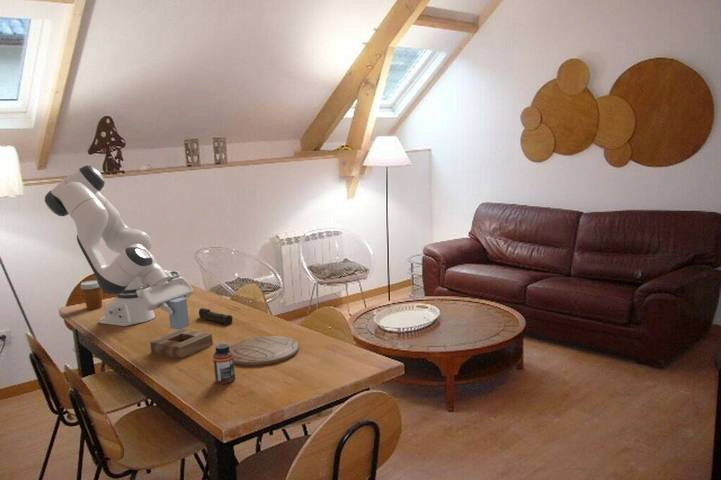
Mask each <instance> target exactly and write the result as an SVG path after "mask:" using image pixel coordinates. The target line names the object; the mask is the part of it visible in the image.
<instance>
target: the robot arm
mask: <svg viewBox="0 0 721 480" xmlns="http://www.w3.org/2000/svg"><path fill="white" fill-rule="evenodd" d="M105 183H106V182H105V180H104V176H103V175H102V173H101V172H100V171H99V170H98V169H97V168H95V167H93V166H92V165H87V164H86V165H84V166H81V167H80V168H78V169H77V171H75V172H72V173H71V174H69V175H67V176H66V177H65V178H64V179H63V180H62V181H60V182H59V183H58V184H57V185H56V186H55V187H54V188H52V189H51V190H49V191H48V192H47V193H46V194H45V196H44V203H45V204H46V207H47V208H48V210H49V211H50V212H52V213H53V214H54V215H57V216H58V217H66V216H70V217H71V218H72V220H73V221H74V224H75V226H76V227H75V228H76V232H77V234H76V241H77V244H78V246H79V248H80V250H81V252H82V253H83V255H84V257H85V259H86V261H87V262H88V265H89V267H90V268H91V270H92V272H93V274H94V276H95V280H97V282H98V285H99V287H100V288H101V289H102V292H104V293H106V294H107V295H116V297H115V298H114V299H112V300H111V301H110V303H108V304H107V305H106V306H105V308H104V316H103V317H101V318H100V319H99V321H98V323H100V324H103V325H104V324H105V325H112V326H120V327H121V326H122V327H128V326H131V325H136V324H142V323H146V322H149V321H150V320H153V319H155V318H156V315H155V312H154V310H156V309H159V308H161V310H163V311H165V312H167V313H168V316H169V315H172V314H174V313H175V310H174V309H173V308H170V307H168V301H170V300H173V299H176V298H185V299H188V298H190V297H191V295H192V294H193V293H194V288H193V287H192V285H191V284H190V283H189V281H187V279H186V278H184V277H183V276H182V274H181V272H180V271H178V270H167V269H164V268H163V266H160V265H159V263H158V260H157V259H156V258H155V256H154V255H153V253H152V252H150V250H151V248H152V244H153V243H152V242H153V241H152V238H151V236H150V235H149V234H148V233H146V232H145V231H143V230H141V229H138V228H130V227H129V226H128V225H127V224H125V222H124V221H123V219H122V216H121V213H120V212H119V210H118V209H116V207H115V206H114V205H113V204H112V202H110V200H108V198H107V197H106V196H104V195H103V194H102V193H101V191H102V189H103V188H104V186H105ZM101 238H102V239H103V241H104V243H105V246H106V247H107V248H108V249H109V250H111V251H112V252H114V253H116V254H118V255H117V256H116V257H115V258H114V259H113V260H112V261H111V262H110V263H109V264H107V263H108V262H107V261H106V260H105V258H104V255H103V254H102V252H101V251H100V241H101ZM188 308H189V306H188V305H187V309H188Z"/></svg>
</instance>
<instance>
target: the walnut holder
mask: <svg viewBox="0 0 721 480" xmlns="http://www.w3.org/2000/svg"><path fill="white" fill-rule="evenodd" d="M149 343H150V344H149V345H150V353H152V354H156V355H161V356H165V357H170V358H171V357H172V358H176V359H181V360H182V359H185V358H187V357H189V356H191V355H193V354H195V353H197V352H199V351H202V350H204V349H206V348H208V347H210V346H212V345H214V344H213V343H214V341H213V333H209V332H203V331H198V330H197V331H196V330H191V329H185V328H182V329H180V330H179V329H177V330H175V331H174V332H171V333H169V334H166V335H164V336H161V337H158V338H156V339H154V340H152V341H150V342H149Z"/></svg>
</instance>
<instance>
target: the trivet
mask: <svg viewBox="0 0 721 480" xmlns="http://www.w3.org/2000/svg"><path fill="white" fill-rule="evenodd" d="M229 350H230V351H232V353H233V360H234V366H235V365H236V366H239V367H240V366H241V367H265V366H272V365H275V364H279V363H282V362H285V361H287V360H290V359H292V358H293V357H295V356H296V355H297V354H298V352H299V350H300V349H299V343H298V342H297V340H295V339H294V338H291V337H287V336H282V335H281V336H280V335H262V336H261V335H260V336H255V337H253V336H252V337H249V338H246V339H243V340H239V341H236V342H234V343H232V344H231V345H229Z"/></svg>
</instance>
